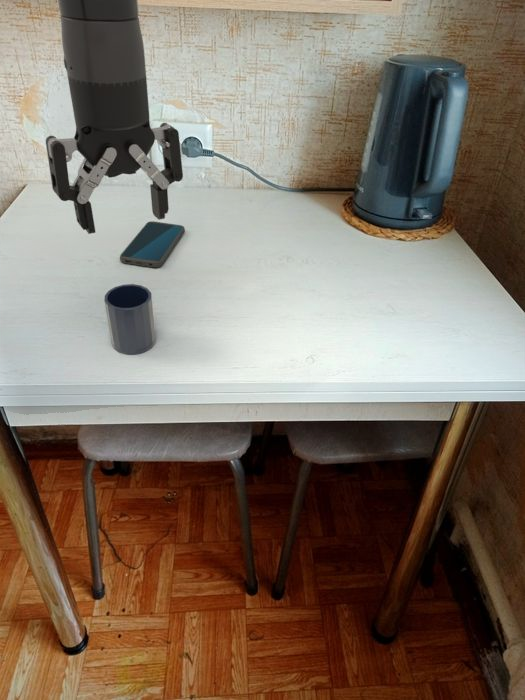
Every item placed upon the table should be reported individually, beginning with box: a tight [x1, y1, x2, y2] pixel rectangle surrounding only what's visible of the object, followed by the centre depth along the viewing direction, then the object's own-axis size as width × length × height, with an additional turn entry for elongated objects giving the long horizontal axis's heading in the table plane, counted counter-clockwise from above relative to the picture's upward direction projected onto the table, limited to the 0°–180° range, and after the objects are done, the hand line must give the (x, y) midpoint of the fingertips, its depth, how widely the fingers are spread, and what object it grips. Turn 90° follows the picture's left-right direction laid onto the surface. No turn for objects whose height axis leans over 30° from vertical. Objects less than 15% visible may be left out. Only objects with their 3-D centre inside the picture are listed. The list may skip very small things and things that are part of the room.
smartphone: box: [119, 220, 185, 268], centre depth 92 cm, size 8×15×1 cm, turn 170°
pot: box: [103, 283, 157, 356], centre depth 69 cm, size 6×6×8 cm
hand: (125, 223), depth 60 cm, fingers open, 8 cm apart
